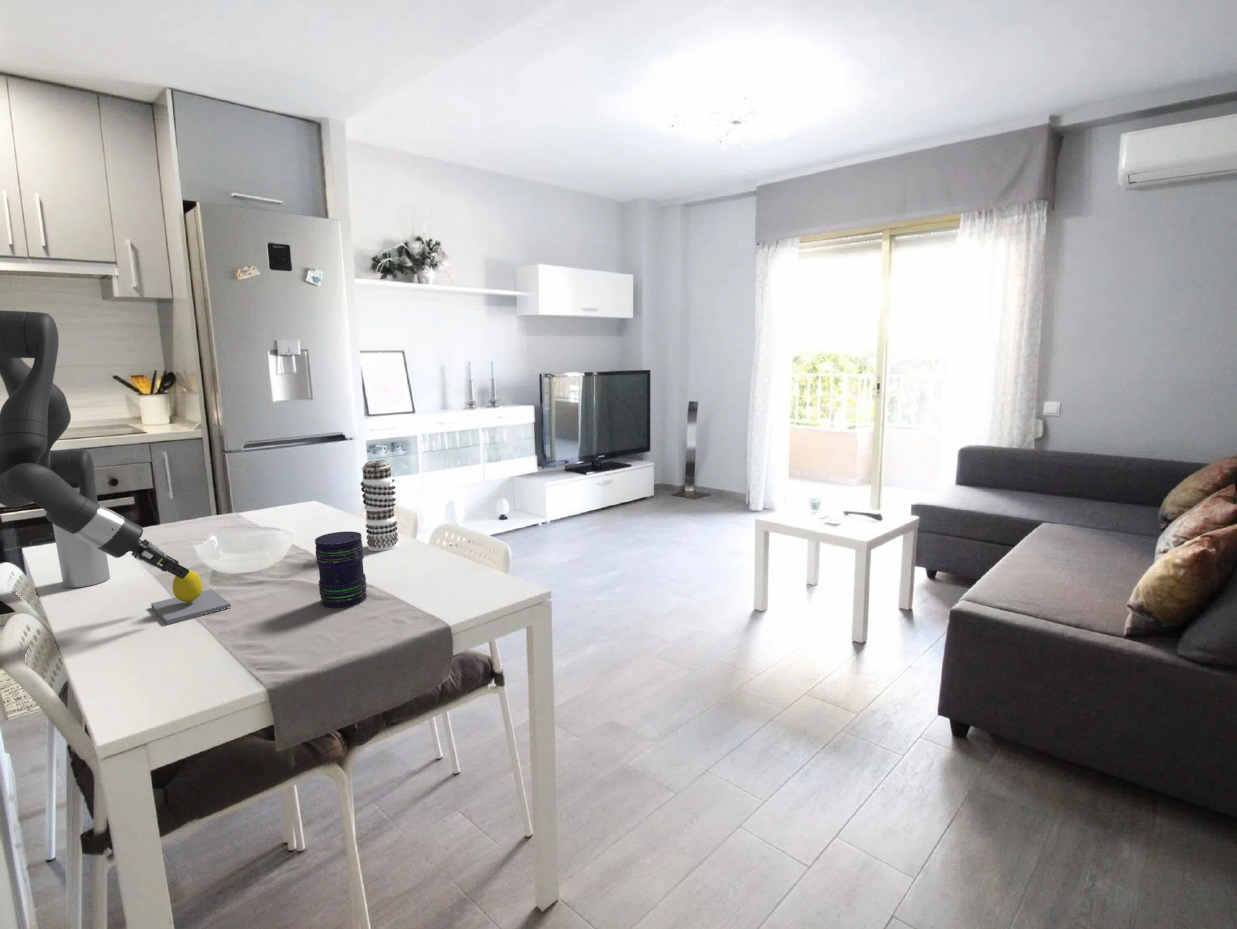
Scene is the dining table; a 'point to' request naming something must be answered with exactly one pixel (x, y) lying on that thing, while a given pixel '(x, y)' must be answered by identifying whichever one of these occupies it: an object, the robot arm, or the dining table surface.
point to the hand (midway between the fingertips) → (180, 570)
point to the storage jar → (341, 569)
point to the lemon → (187, 587)
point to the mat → (189, 607)
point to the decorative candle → (379, 505)
